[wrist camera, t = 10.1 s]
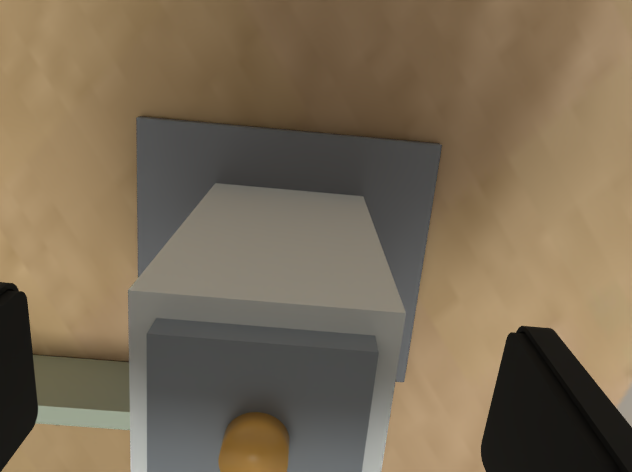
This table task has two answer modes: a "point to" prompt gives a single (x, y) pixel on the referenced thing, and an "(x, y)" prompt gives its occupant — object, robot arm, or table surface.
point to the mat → (290, 185)
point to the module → (265, 338)
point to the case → (82, 392)
